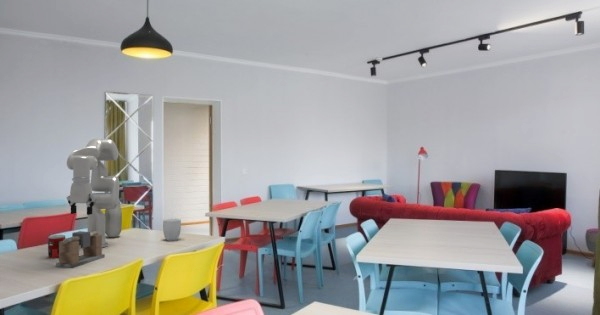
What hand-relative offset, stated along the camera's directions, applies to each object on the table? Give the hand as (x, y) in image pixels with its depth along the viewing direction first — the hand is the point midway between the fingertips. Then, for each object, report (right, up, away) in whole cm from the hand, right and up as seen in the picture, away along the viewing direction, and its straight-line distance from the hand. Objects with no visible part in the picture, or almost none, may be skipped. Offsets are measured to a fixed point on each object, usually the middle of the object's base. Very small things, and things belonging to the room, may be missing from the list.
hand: (81, 213), depth 214 cm
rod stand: (0, -24, 0) cm, 24 cm away
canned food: (-18, -24, +10) cm, 32 cm away
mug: (+29, -24, +55) cm, 67 cm away
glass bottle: (-11, -24, +61) cm, 67 cm away
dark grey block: (0, -17, 0) cm, 17 cm away
